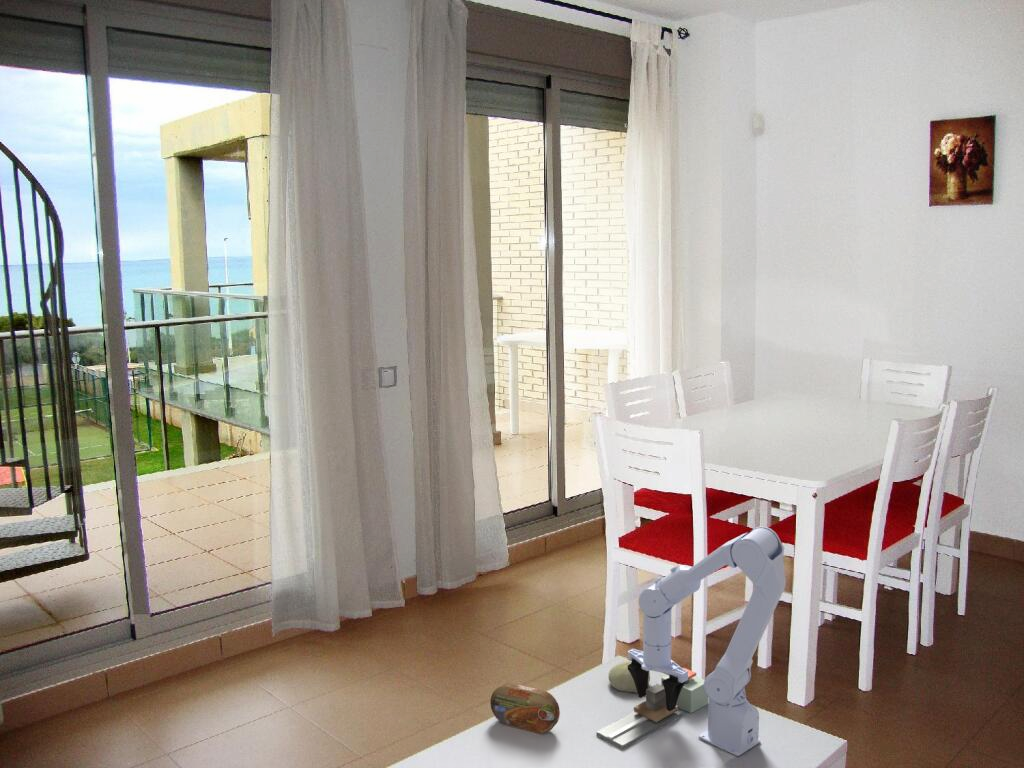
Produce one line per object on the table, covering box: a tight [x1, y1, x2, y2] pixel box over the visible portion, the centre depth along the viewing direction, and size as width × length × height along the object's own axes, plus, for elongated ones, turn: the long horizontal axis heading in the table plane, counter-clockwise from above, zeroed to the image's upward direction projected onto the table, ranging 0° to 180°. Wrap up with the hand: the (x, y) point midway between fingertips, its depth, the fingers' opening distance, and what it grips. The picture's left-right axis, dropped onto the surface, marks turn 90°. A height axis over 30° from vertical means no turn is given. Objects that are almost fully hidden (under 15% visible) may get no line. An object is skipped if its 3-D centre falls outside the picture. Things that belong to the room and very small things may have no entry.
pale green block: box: [660, 674, 709, 714], centre depth 196 cm, size 8×6×5 cm
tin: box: [490, 682, 561, 735], centre depth 187 cm, size 15×3×8 cm, turn 62°
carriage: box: [633, 683, 679, 722], centre depth 190 cm, size 6×7×5 cm
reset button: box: [682, 667, 697, 684], centre depth 196 cm, size 3×3×2 cm
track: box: [596, 709, 684, 750], centre depth 187 cm, size 7×19×1 cm, turn 132°
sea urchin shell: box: [607, 660, 651, 693], centre depth 204 cm, size 9×8×8 cm
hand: (656, 702), depth 190 cm, fingers open, 7 cm apart
